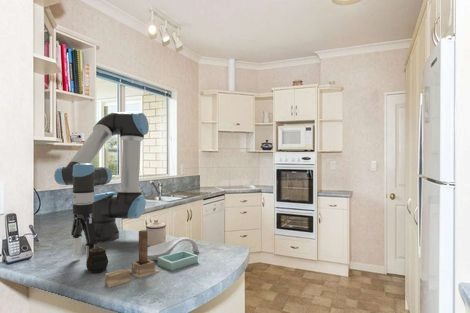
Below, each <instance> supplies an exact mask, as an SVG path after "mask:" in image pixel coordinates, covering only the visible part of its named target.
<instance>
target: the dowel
mask: <svg viewBox="0 0 470 313" xmlns="http://www.w3.org/2000/svg"><path fill="white" fill-rule="evenodd" d="M148 247H149V246H148V231H147V229H143V230H142V229H141V230H139V231H138V260H139V264H140V265H142V264H146V263H148Z"/></svg>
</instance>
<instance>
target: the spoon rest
mask: <svg viewBox="0 0 470 313" xmlns="http://www.w3.org/2000/svg"><path fill="white" fill-rule="evenodd" d="M182 242H189V243H190V244H191V245H192V246H191V247H192V251H194V252H196V253H199V247H198V244H197V243H196V241H194V240H193V239H192V238H190V237H187V236H179V237H176V238H175V237H174V238H172V239H170V240H168V241H165V242H164V243H161V244H158V245H154V246H148V259H149V260H151V261H153V262H155V261H157V262H158V257H161V256H165V255H168V254H171V253H172V251H173V250H174V249H175V248H176V246H178V244H180V243H182Z"/></svg>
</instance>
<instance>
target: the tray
mask: <svg viewBox="0 0 470 313" xmlns="http://www.w3.org/2000/svg"><path fill="white" fill-rule="evenodd" d="M198 258H199V256H198V255H197V254H195V253H192V252H189V251H187V250H180V251H179V250H178V251H176V252H171V253H170V254H168V255H165V256H161V257H158V260H157V266H159V267H161V268H164V269H166V270H168V271H170V272H173V271H175V270H176V271H177V270H178V269H182V268H184V267H185V268H186V267H188V266H190V265H194V264H197V263H198Z"/></svg>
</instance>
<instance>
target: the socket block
mask: <svg viewBox="0 0 470 313" xmlns="http://www.w3.org/2000/svg"><path fill="white" fill-rule="evenodd" d="M155 266H156V265H155V261H151V260H149V259H148V263H146V264H142V265H140V264H139V259H138V260H135V261H131V269H129V270H130V276H131V275H132V276H134V277H135V278H137V279H140V278H143V277H146V276H149V275H153V274H156V273H159V272H160V270H159V269H157V268H155Z"/></svg>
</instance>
